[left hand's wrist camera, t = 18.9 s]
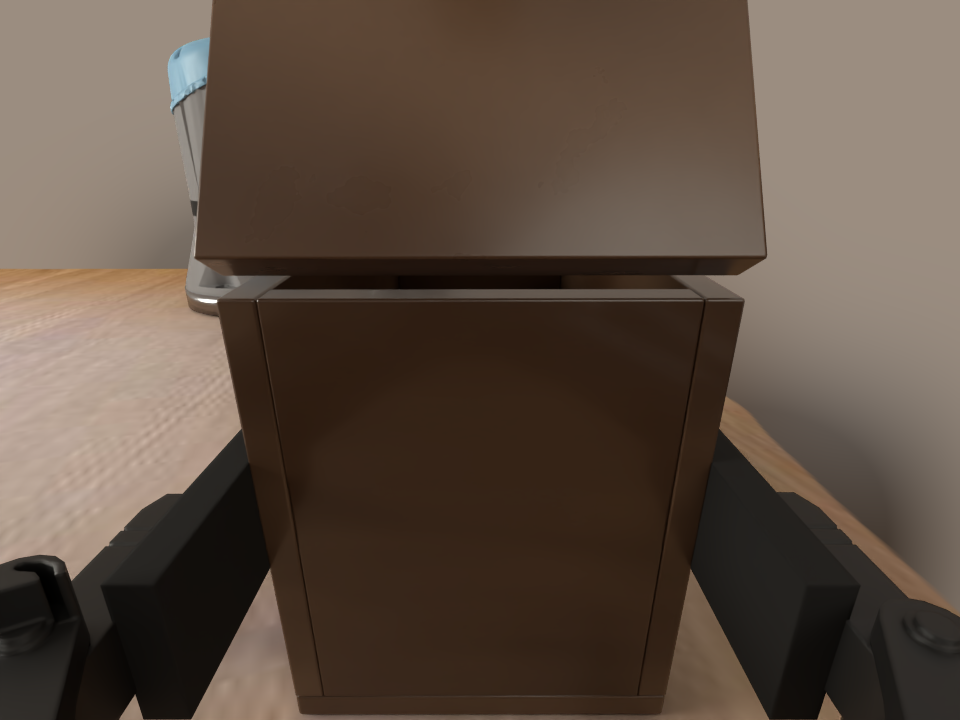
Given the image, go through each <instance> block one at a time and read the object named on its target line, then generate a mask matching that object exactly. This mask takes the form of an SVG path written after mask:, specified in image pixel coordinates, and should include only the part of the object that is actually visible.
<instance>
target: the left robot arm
mask: <svg viewBox="0 0 960 720" xmlns="http://www.w3.org/2000/svg"><path fill="white" fill-rule="evenodd" d="M690 568H691V570H692V572H693V574H694V576H695V577H696V579H697V581H698V583H699V585H700V587H701V589H702V591H703V593H704V595H705V597H706V599H707V600H708V602H709V604H710V606H711V608H712V610H713V612H714V614H715V616H716V618H717V620H718V622H719V624H720V625H721V627H722V629H723V631H724V633H725V635H726V637H727V639H728V641H729V643H730V645H731V647H732V648H733V650H734V652H735V654H736V656H737V658H738V660H739V662H740V664H741V666H742V668H743V670H744V671H745V673H746V675H747V677H748V679H749V681H750V683H751V685H752V687H753V689H754V691H755V693H756V695H757V696H758V698H759V700H760V702H761V704H762V706H763V708H764V710H765V712H766V714H767V716H768V718H769V719H770V720H817V718H818V715H819V712H820V709H821V706H822V703H823V700H824V697H825V694H826V693H827V694H828V696H829V697H830V699H831V701H832V702H833V704H834V705H835V707H836V708H837V710H838V711H839V713H840V714H841V716H842V717H841V720H960V617H958V616H957V615H955V614H953V613H951V612H950V611H948V610H946V609H943V608H941V607H938V606H935V605H933V604H930V603H928V602H925V601H920V600H915V599H909V598H908V597H907V596H906V595H905V594H904V593H903V592H902V591H901V590H900V589H899V588H898V587H897V586H896V585H895V584H894V583H893V582H892V581H891V580H890V579H889V578H888V577H887V576H886V575H885V574H884V573H883V572H882V571H881V570H880V569H879V568H878V567H877V566H876V565H875V564H874V563H873V562H872V561H871V560H870V559H869V558H868V557H867V556H866V555H865V554H864V553H863V552H862V551H861V550H860V549H859V548H858V547H857V546H856V545H853V544H852V540H851V539H850V538H849V537H848V536H847V535H846V534H845V533H844V532H843V531H842V530H841V529H837V525H836V524H835V523H834V522H833V521H832V520H831V519H830V518H829V517H828V516H827V515H826V514H825V513H824V512H823V511H822V510H821V509H820V508H819V507H817V506H815V505H814V504H812V503H811V502H809V501H807V500H806V499H804V498H802V497H801V496H799V495H797V494H796V493H794V492H776V491H775V490H774V489H773V488H772V487H771V486H770V485H769V483H768V482H767V481H766V480H765V479H764V478H763V477H762V476H761V475H760V474H759V472H758V471H757V470H756V469H755V468H754V467H753V466H752V465H751V464H750V462H749V461H748V460H747V459H746V458H745V457H744V456H743V455H742V454H741V453H740V451H739V450H738V449H737V448H736V447H735V446H734V445H733V444H732V443H731V441H730V440H729V439H728V438H727V437H726V436H725V435H724V434H723V433H722V432H721V430H720V429H719V431H718V436H717V441H716V446H715V451H714V456H713V461H712V464H711V468H710V473H709V478H708V483H707V488H706V493H705V498H704V503H703V508H702V513H701V518H700V523H699V528H698V533H697V538H696V543H695V548H694V553H693V558H692V562H691V567H690ZM269 569H270V565H269V560H268V555H267V550H266V545H265V540H264V535H263V530H262V525H261V520H260V515H259V510H258V505H257V501H256V496H255V491H254V486H253V481H252V476H251V471H250V466H249V462H248V457H247V452H246V447H245V442H244V437H243V432H242V429H241V430H240V431H239V432H238V433H237V434H236V436H235V437H234V438H233V439H232V440H231V441H230V442H229V443H228V444H227V446H226V447H225V448H224V449H223V450H222V451H221V452H220V453H219V454H218V455H217V457H216V458H215V459H214V460H213V461H212V462H211V463H210V464H209V465H208V467H207V468H206V469H205V470H204V471H203V472H202V473H201V474H200V475H199V476H198V478H197V479H196V480H195V481H194V482H193V483H192V484H191V485H190V486H189V488H188V489H187V490H186V491H185V492H184V493H183V494H166V495H165V496H163V497H161V498H160V499H158V500H157V501H155V502H153V503H152V504H150V505H148V506H147V507H145V508H144V509H142V510H141V511H140V512H139V513H138V514H137V515H136V516H135V517H134V518H133V519H132V520H131V521H130V522H129V523H128V524H127V525H126V526H125V527H124V531H120V532H119V533H118V534H117V535H116V536H115V537H114V539H113V540H112V541H111V542H110V544H109V546H106V547H105V548H104V549H103V550H102V551H101V552H100V553H99V554H98V555H97V556H96V557H95V558H94V559H93V560H92V561H91V562H90V563H89V564H88V565H87V566H86V567H85V568H84V569H83V570H82V571H81V572H80V573H79V574H78V575H77V576H76V577H75V578H74V579H73V580H72V581H71V579H70V577H69V574H68V571H67V568H66V565H65V562H63V561H62V560H60V559H59V558H57V557H56V556H47V555H36V556H30V557H24V558H18V559H15V560H12V561H9V562H7V563H4V564H1V565H0V720H119V718H120V717H121V715H122V714H123V712H124V710H125V709H126V707H127V706H128V704H129V703H130V701H131V700H132V698H133V697H134V695H135V694H136V698H137V701H138V704H139V707H140V710H141V713H142V716H143V719H144V720H178V719H192V717H193V715H194V713H195V711H196V709H197V707H198V705H199V703H200V701H201V700H202V698H203V696H204V694H205V692H206V690H207V688H208V686H209V684H210V682H211V680H212V678H213V677H214V675H215V673H216V671H217V669H218V667H219V665H220V663H221V661H222V659H223V657H224V655H225V653H226V652H227V650H228V648H229V646H230V644H231V642H232V640H233V638H234V636H235V634H236V632H237V630H238V629H239V627H240V625H241V623H242V621H243V619H244V617H245V615H246V613H247V611H248V609H249V607H250V606H251V604H252V602H253V600H254V598H255V596H256V594H257V592H258V590H259V588H260V586H261V584H262V582H263V581H264V579H265V577H266V575H267V573H268V571H269Z"/></svg>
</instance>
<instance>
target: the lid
mask: <svg viewBox="0 0 960 720" xmlns="http://www.w3.org/2000/svg"><path fill="white" fill-rule="evenodd" d="M766 257H767V247H766V234H765V221H764V208H763V195H762V182H761V170H760V157H759V144H758V131H757V118H756V105H755V92H754V80H753V66H752V54H751V41H750V28H749V15H748V2H747V0H213V3H212V16H211V29H210V42H209V56H208V69H207V83H206V96H205V109H204V123H203V136H202V150H201V163H200V176H199V190H198V203H197V217H196V230H195V243H194V258H195V259H196V260H197V261H199V262H201V263H202V264H204V265H206V266H207V267H209V268H211V269H212V270H214V271H216V272H217V273H219V274H221V275H223V276H510V275H739V274H741V273H742V272H744V271H746V270H747V269H749V268H751V267H752V266H754V265H756V264H757V263H759V262H761V261H762V260H764V259H766Z"/></svg>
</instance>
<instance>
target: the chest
mask: <svg viewBox="0 0 960 720" xmlns="http://www.w3.org/2000/svg"><path fill="white" fill-rule="evenodd" d="M744 302H745V301H744V299H743V298H742V297H740V296H738V295H737V294H735V293H733V292H732V291H730V290H728V289H727V288H725V287H723V286H721V285H720V284H718V283H716V282H715V281H713V280H711V279H710V278H708V277H706V276H705V275H510V276H255V277H254V278H252V279H250V280H248V281H247V282H245V283H243V284H242V285H240V286H238V287H237V288H235V289H233V290H232V291H230V292H228V293H227V294H225V295H223V296H222V297H220V298H218V299H217V300H216V304H217V309H218V314H219V319H220V324H221V329H222V334H223V339H224V343H225V348H226V353H227V358H228V363H229V368H230V373H231V378H232V383H233V388H234V393H235V398H236V403H237V407H238V412H239V417H240V422H241V427H242V432H243V437H244V442H245V447H246V452H247V457H248V462H249V466H250V471H251V476H252V481H253V486H254V491H255V496H256V501H257V505H258V510H259V515H260V520H261V525H262V530H263V535H264V540H265V545H266V550H267V555H268V560H269V565H270V570H271V575H272V580H273V585H274V590H275V595H276V599H277V604H278V609H279V614H280V619H281V624H282V629H283V634H284V639H285V644H286V649H287V654H288V659H289V663H290V668H291V673H292V678H293V683H294V688H295V693H296V695H297V701H298V706H299V711H300V713H301V714H659V713H661V712H662V707H663V702H664V695H665V694H666V689H667V684H668V679H669V674H670V669H671V664H672V659H673V654H674V649H675V644H676V639H677V634H678V629H679V624H680V620H681V615H682V610H683V605H684V600H685V595H686V590H687V585H688V580H689V575H690V570H691V568H690V567H691V562H692V558H693V553H694V548H695V543H696V538H697V533H698V528H699V523H700V518H701V513H702V508H703V503H704V498H705V493H706V488H707V483H708V478H709V473H710V468H711V464H712V461H713V456H714V451H715V446H716V441H717V436H718V431H719V426H720V421H721V416H722V411H723V406H724V401H725V397H726V391H727V387H728V382H729V377H730V372H731V367H732V362H733V357H734V352H735V347H736V342H737V337H738V332H739V327H740V322H741V317H742V312H743V307H744Z"/></svg>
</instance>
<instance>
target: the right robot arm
mask: <svg viewBox="0 0 960 720" xmlns="http://www.w3.org/2000/svg"><path fill="white" fill-rule="evenodd" d="M209 42H210V37H209V38H204V39H200V40H196V41H193V42H190V43H188V44H185V45H184V46H182V47H180V48H178V49H177V50H176V51H175V52H174V53H173V54H172V55H171V57H170V59H169V62H168V76H169V83H170V90H171V97H172V102H171V106H170V108H171V112H172V114H173V115H174V118H175V123H176V129H177V134H178V139H179V144H180V149H181V154H182V160H183V165H184V170H185V175H186V180H187V186H188V191H189V196H190V201H191V206H192V212H193V217H194V235H193V241H192V247H191V254H190V260H189V266H188V273H187V279H186V286H185V290H186V295H187V300H188V305H189V307H190V308H191V309H192V310H194V311H196V312H199V313H203V314H209V315H216V316H219V314H218V309H217V304H216V300H217V299H218V298H220V297H222V296H223V295H225V294H227V293H228V292H230V291H232V290H233V289H235V288H237V287H238V286H240V285H242V284H243V283H245V282H247V281H248V280H250V279H252V278H254V277H255V276H223V275H221V274H219V273H217V272H216V271H214V270H212V269H211V268H209V267H207V266H206V265H204V264H202V263H201V262H199V261H197V260H196V259H195V258H194V243H195V230H196V217H197V203H198V190H199V176H200V163H201V150H202V136H203V123H204V109H205V96H206V83H207V69H208V56H209Z"/></svg>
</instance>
